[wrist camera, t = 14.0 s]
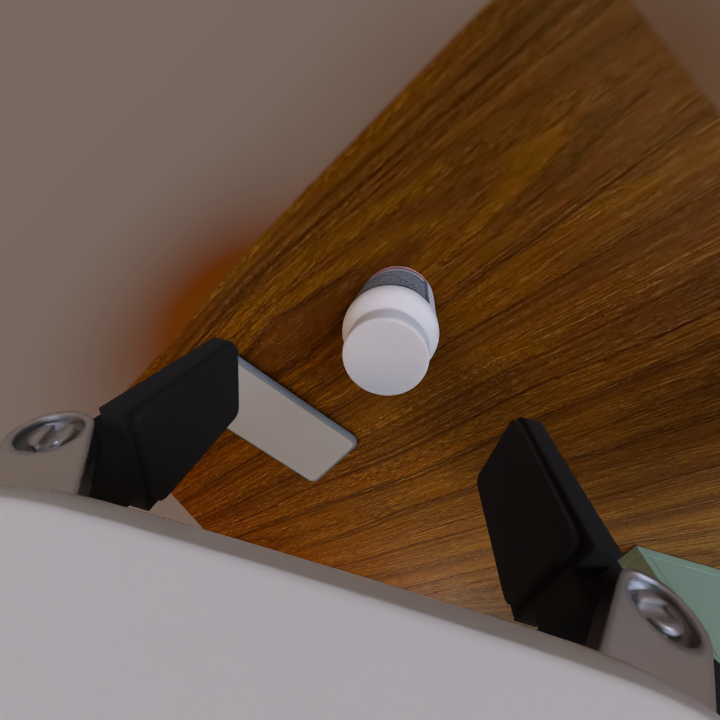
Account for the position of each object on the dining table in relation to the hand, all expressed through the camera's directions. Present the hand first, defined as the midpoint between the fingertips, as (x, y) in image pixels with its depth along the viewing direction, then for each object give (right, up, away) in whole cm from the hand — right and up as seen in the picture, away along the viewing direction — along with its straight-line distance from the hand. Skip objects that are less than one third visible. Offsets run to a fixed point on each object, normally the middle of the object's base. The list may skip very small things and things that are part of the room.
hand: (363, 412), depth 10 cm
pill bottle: (+3, +6, +11) cm, 13 cm away
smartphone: (-8, -4, +18) cm, 20 cm away
